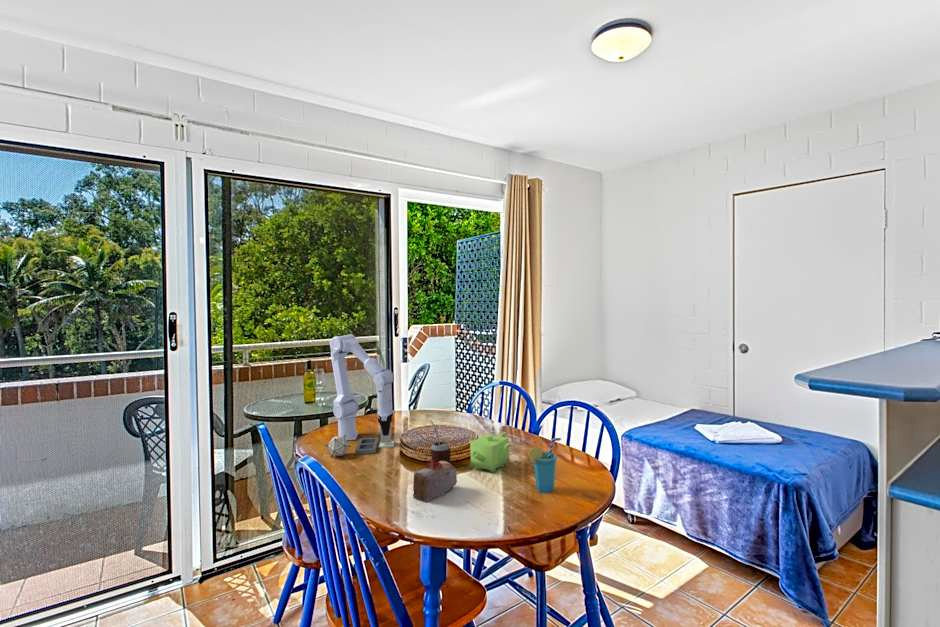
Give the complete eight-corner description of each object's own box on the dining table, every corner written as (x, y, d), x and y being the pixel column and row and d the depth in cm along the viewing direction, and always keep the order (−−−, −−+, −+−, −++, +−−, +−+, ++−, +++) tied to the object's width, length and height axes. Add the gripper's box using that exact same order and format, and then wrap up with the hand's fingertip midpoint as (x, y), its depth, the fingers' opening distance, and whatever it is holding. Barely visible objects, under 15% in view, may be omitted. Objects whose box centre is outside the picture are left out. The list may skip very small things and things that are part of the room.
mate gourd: (448, 470, 171) (446, 427, 170) (426, 469, 172) (424, 426, 171) (453, 462, 178) (451, 421, 177) (432, 461, 180) (430, 420, 179)
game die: (339, 467, 187) (331, 452, 180) (325, 455, 191) (318, 440, 185) (357, 451, 192) (350, 435, 185) (344, 440, 196) (337, 424, 190)
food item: (439, 483, 160) (438, 453, 159) (459, 488, 155) (458, 457, 155) (410, 498, 149) (409, 466, 148) (430, 504, 144) (429, 471, 144)
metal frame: (360, 442, 204) (359, 438, 204) (378, 441, 205) (378, 437, 205) (355, 454, 189) (355, 450, 189) (375, 453, 190) (375, 449, 190)
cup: (551, 478, 160) (550, 433, 159) (571, 485, 154) (570, 438, 153) (522, 492, 151) (521, 443, 150) (542, 499, 145) (541, 449, 144)
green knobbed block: (505, 458, 181) (505, 427, 180) (517, 472, 167) (516, 439, 166) (465, 462, 178) (464, 431, 177) (473, 477, 164) (472, 444, 163)
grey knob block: (381, 439, 202) (381, 423, 201) (391, 439, 202) (391, 423, 202) (380, 442, 198) (380, 426, 197) (390, 442, 198) (390, 426, 198)
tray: (379, 443, 203) (379, 441, 203) (394, 442, 203) (394, 440, 203) (378, 447, 197) (378, 446, 197) (393, 446, 197) (393, 445, 197)
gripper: (393, 404, 192) (395, 438, 193) (395, 396, 206) (397, 427, 207) (375, 405, 191) (377, 439, 192) (378, 396, 206) (380, 428, 207)
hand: (386, 433), depth 200 cm, fingers closed on grey knob block, 4 cm apart
